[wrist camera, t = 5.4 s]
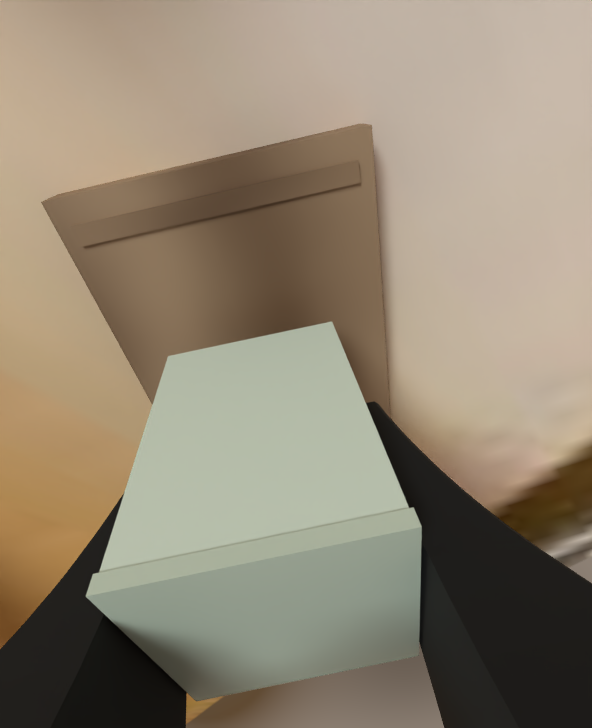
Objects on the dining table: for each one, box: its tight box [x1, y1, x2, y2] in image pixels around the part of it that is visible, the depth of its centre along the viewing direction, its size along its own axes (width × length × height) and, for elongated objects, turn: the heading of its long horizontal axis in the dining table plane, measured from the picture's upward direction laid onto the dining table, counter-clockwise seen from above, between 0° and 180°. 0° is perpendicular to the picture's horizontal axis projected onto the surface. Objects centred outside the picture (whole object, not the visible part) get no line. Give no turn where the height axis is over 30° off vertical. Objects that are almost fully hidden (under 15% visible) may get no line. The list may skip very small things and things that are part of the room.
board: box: [41, 124, 390, 417], centre depth 13 cm, size 8×13×2 cm, turn 11°
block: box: [86, 322, 422, 701], centre depth 9 cm, size 5×5×6 cm
